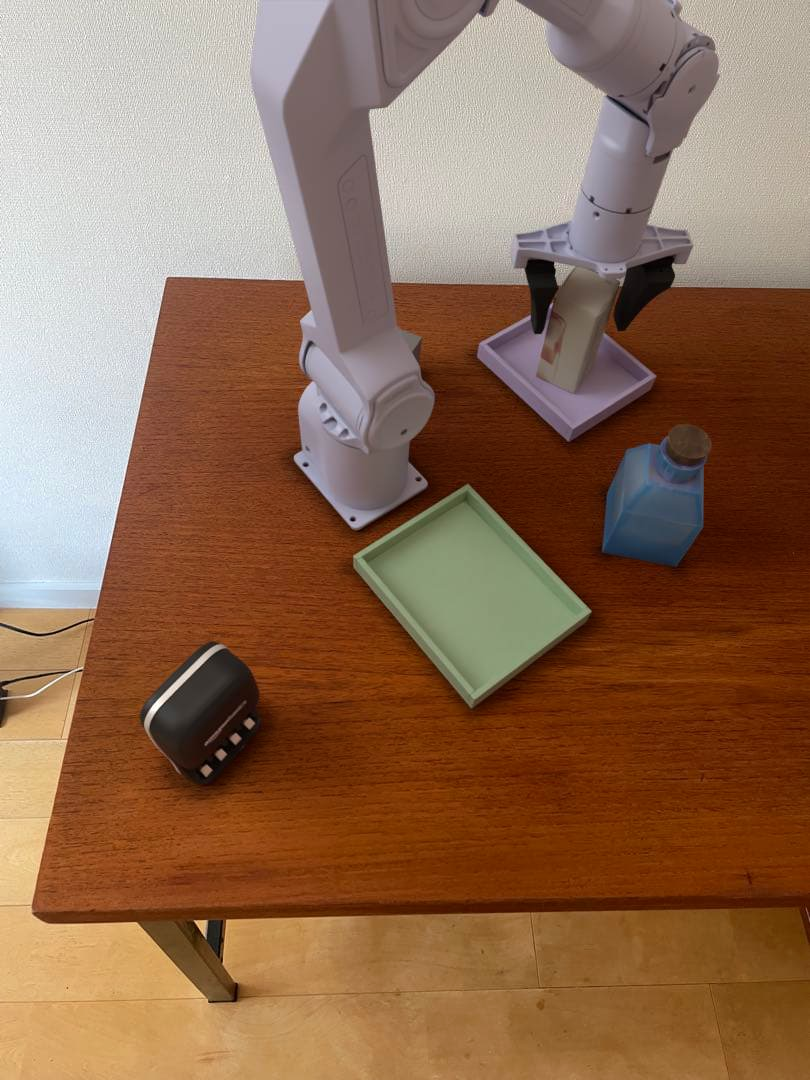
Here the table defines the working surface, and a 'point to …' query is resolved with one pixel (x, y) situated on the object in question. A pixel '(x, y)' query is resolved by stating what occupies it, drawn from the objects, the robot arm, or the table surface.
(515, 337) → the lavender tray
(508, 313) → the table surface
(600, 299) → the cream cardboard box
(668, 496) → the perfume bottle
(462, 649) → the sage tray
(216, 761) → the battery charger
